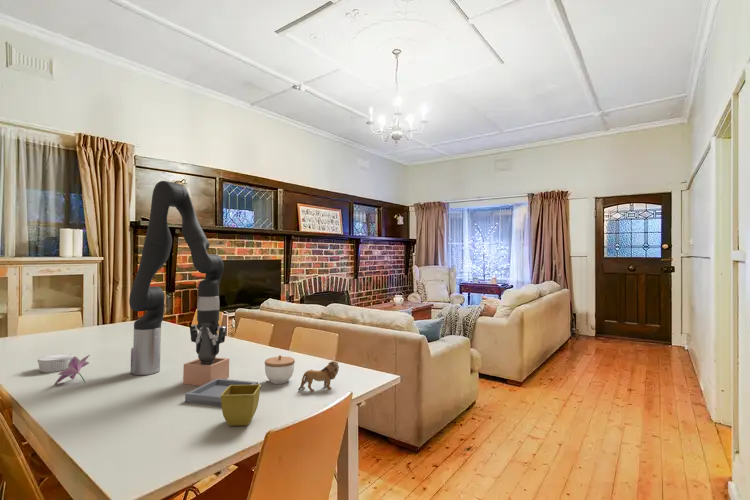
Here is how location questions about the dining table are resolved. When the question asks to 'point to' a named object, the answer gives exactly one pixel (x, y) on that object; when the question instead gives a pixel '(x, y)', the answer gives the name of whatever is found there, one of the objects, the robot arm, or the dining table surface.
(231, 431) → the dining table surface
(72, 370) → the lily
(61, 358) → the ramekin
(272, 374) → the lidded jar
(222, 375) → the square copper bin
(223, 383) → the tray
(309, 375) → the lion figurine
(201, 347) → the candle holder
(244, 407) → the flower pot
